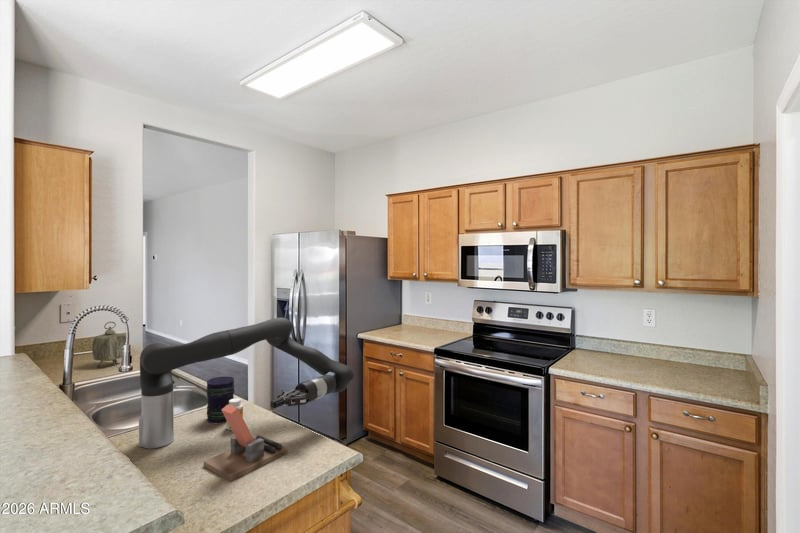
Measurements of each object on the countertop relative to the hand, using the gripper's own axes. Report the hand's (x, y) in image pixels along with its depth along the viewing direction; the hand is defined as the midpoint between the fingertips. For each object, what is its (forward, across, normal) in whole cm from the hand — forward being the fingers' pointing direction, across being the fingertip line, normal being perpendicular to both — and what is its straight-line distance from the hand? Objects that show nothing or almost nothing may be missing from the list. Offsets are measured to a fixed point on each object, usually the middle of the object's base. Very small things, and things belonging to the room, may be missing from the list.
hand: (272, 405), depth 132 cm
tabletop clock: (-10, -156, +14) cm, 157 cm away
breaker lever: (+9, 0, +9) cm, 13 cm away
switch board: (+9, 0, +14) cm, 17 cm away
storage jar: (-4, -36, +14) cm, 39 cm away
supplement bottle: (-2, -24, +14) cm, 28 cm away
